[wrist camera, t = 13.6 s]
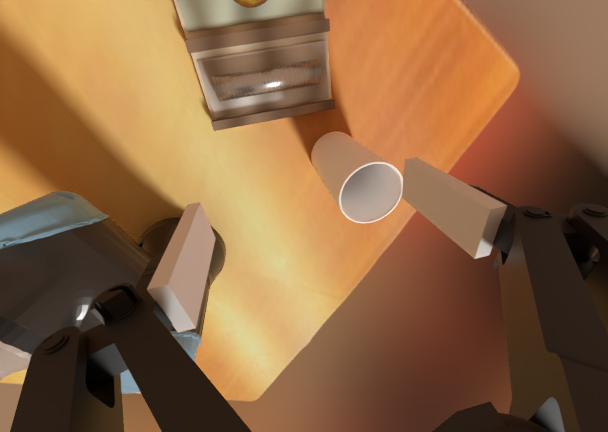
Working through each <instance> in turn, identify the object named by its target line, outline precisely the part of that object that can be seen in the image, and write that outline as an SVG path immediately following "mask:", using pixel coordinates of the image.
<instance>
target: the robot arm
mask: <svg viewBox="0 0 608 432" xmlns="http://www.w3.org/2000/svg"><path fill="white" fill-rule="evenodd" d="M402 198H403V199H405V200H406V201H407V202H408V203H409V204H411V205H412V206H413V207H414V208H415V209H416V210H418V211H419V212H420V213H421V214H423V215H424V216H425V217H426V218H427V219H428V220H429V221H431V222H432V223H433V224H434V225H435V226H437V227H438V228H439V229H440V230H441V231H443V232H444V233H445V234H446V235H447V236H448V237H450V238H451V239H452V240H453V241H454V242H455V243H457V244H458V245H459V246H460V247H461V248H463V249H464V250H465V251H466V252H467V253H469V254H470V255H471V256H472V257H473V258H474V259H475V258H480V257H484V256H488V255H490V252H491V249H492V246H493V245H494V246H496V247H497V248H498V249H500V250H499V253H498V255H497V258H496V261H495V263H494V266H493V268H496V267H497V265H498V266H499V275H500V285H501V294H502V303H503V314H504V323H505V333H506V342H507V352H508V361H509V371H510V380H511V390H512V402H511V406H510V411H509V414H504V413H498V412H497V410H496V409H495V408H494V406H493V405H492V403H491V402H487V403H484V404H481V405H477V406H474V407H471V408H467V409H464V410H461V411H458V412H456V413H454V414H453V415H452V416H451V417H449V418H448V419H447V420H446V421H445V422H443V423H442V424H441V425H440V426H439V427H437V428H436V429H435V430H434V431H432V432H608V208H605V207H603V206H600V205H595V204H578V205H575V206H573V208H572V209H571V211H570V213H569V215H554V214H553V213H551V212H550V211H548V210H545V209H542V208H539V207H532V206H522V207H518V208H517V207H516V206H514V205H512V204H510V203H508V202H506V201H504V200H502V199H500V198H498V197H496V196H494V195H492V194H490V193H487V192H486V191H484V190H483V189H480V188H479V187H475V186H472V185H468V184H465V183H463V182H462V181H460V180H458V179H456V178H454V177H452V176H450V175H448V174H447V173H445V172H443V171H441V170H439V169H437V168H435V167H433V166H431V165H430V164H428V163H426V162H424V161H422V160H420V159H418V158H411V159H406V160H405V165H404V177H403V188H402ZM109 217H110V216H109V215H108V214H104V213H103V212H101V211H100V210H99V209H98V208H96V207H95V206H94V205H92V204H91V203H90V202H89V201H87V200H86V199H85V198H84V197H83V196H81V195H79V194H77V193H74V192H70V191H57V192H53V193H50V194H47V195H45V196H43V197H40V198H38V199H35V200H33V201H31V202H28V203H26V204H23V205H21V206H19V207H16V208H14V209H12V210H9V211H7V212H4V213H2V214H0V381H1V380H2V379H3V378H4V377H6V376H8V375H10V374H12V373H14V372H17V371H21V370H24V369H27V368H28V369H27V373H26V376H25V380H24V384H23V387H22V391H21V394H20V398H19V402H18V405H17V409H16V412H15V416H14V420H13V423H12V427H11V430H10V432H124V424H123V407H122V393H136V392H141V394H142V395H143V397H144V399H145V401H146V403H147V405H148V407H149V408H150V410H151V412H152V414H153V416H154V418H155V419H156V421H157V423H158V425H159V427H160V429H161V431H162V432H251V430H250V429H249V428H248V427H247V426H246V424H245V423H244V422H243V421H242V420H241V418H240V417H239V416H238V415H237V413H236V412H235V411H234V410H233V408H232V407H231V406H230V405H229V404H228V402H227V401H226V400H225V399H224V397H223V396H222V395H221V394H220V393H219V391H218V390H217V389H216V388H215V386H214V385H213V384H212V383H211V382H210V380H209V379H208V378H207V377H206V376H205V374H204V373H203V372H202V371H201V369H200V368H199V367H198V366H197V365H196V363H195V362H194V361H195V357H196V353H197V349H198V346H199V344H200V342H201V335H202V329H203V324H204V318H205V312H206V306H207V301H208V295H209V289H210V286H211V284H212V283H213V281H214V280H215V278H216V276H217V275H218V274H219V273H220V271H221V270H222V268H223V265H224V261H225V255H226V249H225V244H224V242H223V240H222V238H221V237H220V235H219V234H218V233H217V232H216V231H215V230H214V229H212V228H211V226H210V224H209V221H208V219H207V217H206V214H205V212H204V210H203V207H202V205H201V203H200V202H199V203H195V204H190V205H187V207H186V209H185V211H184V213H183V215H182V217H181V218H171V219H166V220H163V221H160V222H158V223H156V224H154V225H152V226H151V227H150V228H149V229H148V230H147V231H146V232H145V233H144V235H143V236H142V238H141V239H140V241H139V243H138V244H137V243H136V242H135V241H134V240H133V239H132V238H130V237H129V236H128V235H127V234H126V233H125V232H124V231H123V230H122V229H121V228H119V227H118V226H117V225H116V224H115V223H114V222H113V221H112V220H111V219H110V218H109ZM598 250H599V253H600V259H599V261H598V260H597V259H596V258H595V257H594V255H595V254H596V252H597V251H598Z"/></svg>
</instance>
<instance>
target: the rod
mask: <svg viewBox="0 0 608 432" xmlns="http://www.w3.org/2000/svg"><path fill="white" fill-rule="evenodd" d="M212 82H213V86H214V90H215V93H216V96H217V98H218V100H219V102H221V101H227V100H233V99H239V98H244V97H250V96H256V95H262V94H267V93H273V92H279V91H284V90H290V89H296V88H302V87H307V86H313V85H319V84H321V82H322V71H321V65H320V61H319V59H314V60H308V61H302V62H296V63H290V64H284V65H278V66H272V67H266V68H260V69H254V70H248V71H242V72H236V73H230V74H224V75H218V76H212Z"/></svg>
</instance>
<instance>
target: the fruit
mask: <svg viewBox="0 0 608 432" xmlns="http://www.w3.org/2000/svg"><path fill="white" fill-rule="evenodd" d="M234 1H235V2H236V3H238V4H239V5H241V6H243V7H247V8H253V7H258V6H260V5H262V4H264V3H265V2H266V1H267V0H234Z"/></svg>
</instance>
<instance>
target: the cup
mask: <svg viewBox="0 0 608 432" xmlns="http://www.w3.org/2000/svg"><path fill="white" fill-rule="evenodd" d="M311 161H312V165H313V167H314V169H315V170H316V172H317V173H318V175H319V177H320V178H321V180H322V181H323V183H324V185H325V186H326V188H327V189H328V191H329V192H330V194H331V196H332V197H333V199H334V200H335V202H336V204H337V205H338V207H339V208H340V210H341V211H342V213H343V214H344V215H345V216H346V217H347V218H348V219H350V220H352V221H354V222H357V223H370V222H374V221H377V220H379V219H381V218H383V217H385V216H386V215H388V214H389V213H390V212H391V211H392V210H393V209H394V208H395V207H396V205H397V204H398V202H399V200H400V198H401V196H402V188H403V178H402V176H401V173H400V172H399V171H398V169H397V168H396V167H395V166H393V165H392V164H391V163H389V162H388V161H386V160H385V159H383V158H382V157H380V156H379V155H377V154H376V153H374V152H373V151H371V150H370V149H368V148H367V147H365V146H364V145H362V144H361V143H359V142H358V141H356V140H355V139H353V138H352V137H350V136H349V135H348V134H346V133H343V132H339V131H333V132H329V133H327V134H325V135H323V136H322V137H320V138H319V139H318V140H317V142H316V143H315V145H314V147H313V149H312V153H311Z"/></svg>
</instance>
